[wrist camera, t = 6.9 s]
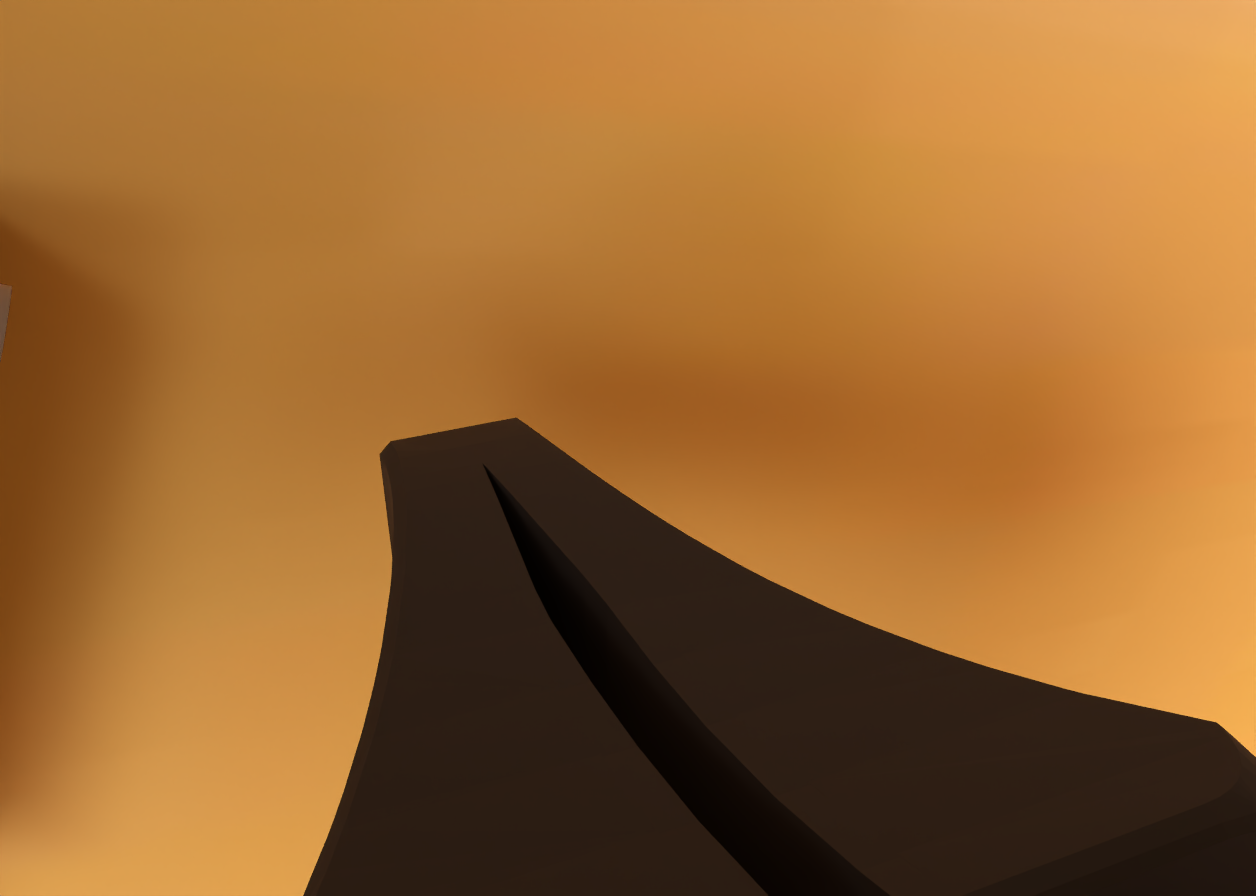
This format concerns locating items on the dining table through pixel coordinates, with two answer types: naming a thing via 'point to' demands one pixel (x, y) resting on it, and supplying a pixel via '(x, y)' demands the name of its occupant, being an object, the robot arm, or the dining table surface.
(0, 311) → the door
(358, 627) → the dining table surface
